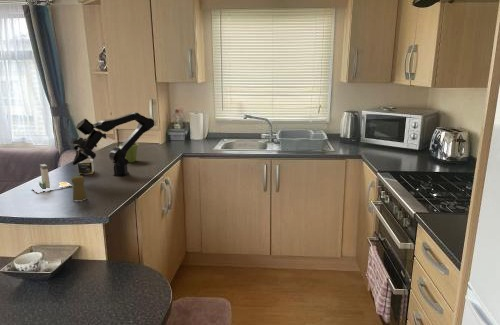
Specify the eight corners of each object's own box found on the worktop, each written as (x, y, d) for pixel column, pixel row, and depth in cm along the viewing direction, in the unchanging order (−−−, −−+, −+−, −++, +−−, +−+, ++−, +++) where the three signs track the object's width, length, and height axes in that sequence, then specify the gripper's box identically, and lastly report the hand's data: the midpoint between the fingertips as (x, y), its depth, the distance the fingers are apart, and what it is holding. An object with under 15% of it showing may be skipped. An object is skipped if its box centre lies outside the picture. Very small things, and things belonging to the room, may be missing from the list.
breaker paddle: (47, 185, 183) (44, 163, 181) (50, 187, 180) (47, 165, 177) (42, 186, 182) (39, 164, 179) (45, 188, 178) (42, 166, 176)
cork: (89, 197, 168) (87, 174, 165) (84, 202, 162) (81, 178, 159) (76, 197, 167) (73, 174, 165) (70, 202, 162) (67, 178, 159)
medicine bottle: (79, 174, 207) (76, 154, 204) (81, 171, 213) (78, 151, 210) (92, 174, 208) (90, 153, 206) (94, 170, 215) (92, 151, 212)
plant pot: (116, 162, 236) (115, 145, 233) (130, 158, 246) (129, 142, 244) (130, 164, 231) (128, 146, 228) (143, 160, 241) (142, 143, 238)
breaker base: (65, 182, 191) (65, 175, 190) (72, 186, 184) (71, 179, 183) (31, 189, 181) (30, 181, 180) (37, 193, 174) (35, 186, 173)
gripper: (73, 129, 194) (54, 152, 189) (86, 132, 181) (66, 158, 176) (90, 141, 201) (72, 164, 196) (104, 146, 188) (84, 171, 183)
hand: (73, 164), depth 188 cm, fingers closed
